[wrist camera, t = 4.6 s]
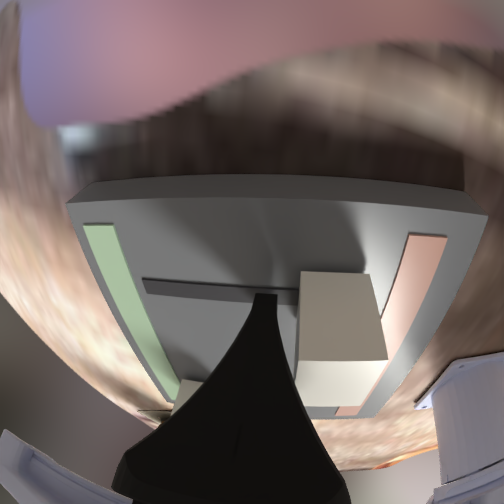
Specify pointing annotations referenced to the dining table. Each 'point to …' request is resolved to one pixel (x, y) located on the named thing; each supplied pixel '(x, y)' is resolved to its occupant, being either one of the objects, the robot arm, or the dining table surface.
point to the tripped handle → (337, 339)
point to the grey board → (270, 262)
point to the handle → (185, 393)
